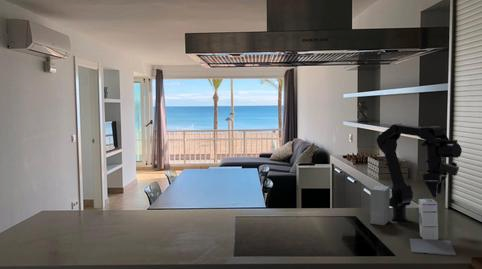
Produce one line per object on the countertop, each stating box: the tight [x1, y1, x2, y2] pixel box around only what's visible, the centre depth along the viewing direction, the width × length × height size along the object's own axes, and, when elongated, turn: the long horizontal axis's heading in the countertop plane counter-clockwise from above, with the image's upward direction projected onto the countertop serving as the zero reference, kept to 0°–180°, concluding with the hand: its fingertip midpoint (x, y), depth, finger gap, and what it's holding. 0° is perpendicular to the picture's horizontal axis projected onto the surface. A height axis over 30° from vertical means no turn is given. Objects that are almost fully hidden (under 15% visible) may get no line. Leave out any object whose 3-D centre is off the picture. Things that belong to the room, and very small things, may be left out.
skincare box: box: [369, 184, 391, 226], centre depth 184 cm, size 8×7×16 cm
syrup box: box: [418, 198, 439, 240], centre depth 161 cm, size 6×6×14 cm
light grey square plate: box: [409, 238, 457, 257], centre depth 150 cm, size 15×14×1 cm
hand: (437, 195), depth 170 cm, fingers open, 9 cm apart
